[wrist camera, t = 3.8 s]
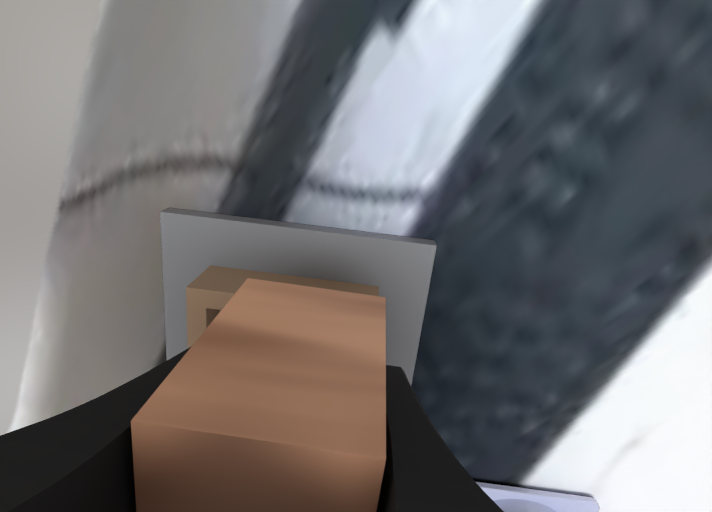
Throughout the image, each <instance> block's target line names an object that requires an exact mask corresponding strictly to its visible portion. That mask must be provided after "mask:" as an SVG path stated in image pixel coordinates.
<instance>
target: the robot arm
mask: <svg viewBox="0 0 712 512" xmlns="http://www.w3.org/2000/svg"><path fill="white" fill-rule="evenodd" d="M191 347H192V346H191ZM191 347H189V348H188V349H186V350H184V351H183V352H181V353H179V354H177V355H176V356H174V357H172V358H171V359H169V360H167V361H165V362H164V363H162V364H160V365H158V366H157V367H155V368H153V369H151V370H150V371H148V372H146V373H144V374H143V375H141V376H139V377H137V378H135V379H133V380H131V381H129V382H127V383H125V384H123V385H121V386H119V387H118V388H116V389H114V390H112V391H110V392H108V393H106V394H104V395H102V396H100V397H98V398H96V399H93V400H91V401H89V402H87V403H85V404H82V405H80V406H78V407H75V408H73V409H71V410H68V411H66V412H63V413H61V414H59V415H56V416H54V417H51V418H49V419H46V420H43V421H40V422H38V423H35V424H32V425H29V426H26V427H24V428H21V429H18V430H15V431H12V432H10V433H7V434H4V435H1V436H0V512H136V498H135V482H134V466H133V450H132V434H131V420H132V419H133V418H134V416H135V415H136V414H137V413H138V412H139V410H140V409H141V408H142V407H143V405H144V404H145V403H146V402H147V401H148V399H149V398H150V397H151V396H152V394H153V393H154V392H155V391H156V390H157V388H158V387H159V386H160V385H161V383H162V382H163V381H164V380H165V379H166V377H167V376H168V375H169V374H170V372H171V371H172V370H173V369H174V368H175V366H176V365H177V364H178V363H179V361H180V360H181V359H182V358H183V357H184V355H185V354H186V353H187V352H188V350H189V349H190V348H191ZM599 508H600V507H599V505H598V503H597V501H596V500H595V499H594V498H591V497H585V496H578V495H571V494H563V493H556V492H548V491H541V490H533V489H526V488H519V487H511V486H504V485H496V484H489V483H482V482H475V481H474V480H473V479H472V477H471V476H470V475H469V474H468V473H467V471H466V470H465V469H464V468H463V467H462V465H461V464H460V463H459V461H458V460H457V459H456V458H455V456H454V455H453V453H452V452H451V451H450V449H449V448H448V447H447V445H446V444H445V442H444V441H443V439H442V438H441V436H440V435H439V433H438V432H437V430H436V429H435V427H434V426H433V424H432V423H431V421H430V419H429V418H428V416H427V414H426V413H425V411H424V409H423V408H422V406H421V404H420V402H419V400H418V399H417V397H416V395H415V393H414V391H413V389H412V387H411V385H410V383H409V381H408V379H407V376H406V374H405V372H404V370H403V369H402V368H401V367H398V366H391V365H386V462H385V467H384V473H383V478H382V484H381V489H380V494H379V500H378V505H377V511H376V512H599Z"/></svg>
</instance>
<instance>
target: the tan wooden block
mask: <svg viewBox="0 0 712 512" xmlns="http://www.w3.org/2000/svg"><path fill="white" fill-rule="evenodd" d="M131 434H132V450H133V466H134V482H135V498H136V512H376V511H377V505H378V500H379V494H380V489H381V484H382V478H383V473H384V467H385V462H386V297H380V296H373V295H366V294H359V293H352V292H344V291H337V290H330V289H323V288H316V287H308V286H301V285H294V284H287V283H280V282H273V281H265V280H258V279H251V278H247V280H246V281H245V282H244V283H243V285H242V286H241V287H240V288H239V289H238V291H237V292H236V293H235V294H234V296H233V297H232V298H231V299H230V300H229V302H228V303H227V304H226V305H225V306H224V308H223V309H222V310H221V311H220V313H219V314H218V315H217V316H216V317H215V319H214V320H213V321H212V322H211V324H210V325H209V326H208V327H207V328H206V330H205V331H204V332H203V333H202V335H201V336H200V337H199V338H198V339H197V341H196V342H195V343H194V344H193V346H192V347H191V348H190V349H189V350H188V352H187V353H186V354H185V355H184V357H183V358H182V359H181V360H180V361H179V363H178V364H177V365H176V366H175V368H174V369H173V370H172V371H171V372H170V374H169V375H168V376H167V377H166V379H165V380H164V381H163V382H162V383H161V385H160V386H159V387H158V388H157V390H156V391H155V392H154V393H153V394H152V396H151V397H150V398H149V399H148V401H147V402H146V403H145V404H144V405H143V407H142V408H141V409H140V410H139V412H138V413H137V414H136V415H135V416H134V418H133V419H132V420H131Z"/></svg>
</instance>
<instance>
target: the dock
mask: <svg viewBox="0 0 712 512" xmlns="http://www.w3.org/2000/svg"><path fill="white" fill-rule="evenodd" d="M160 220H161V243H162V265H163V288H164V311H165V334H166V357H167V360H169V359H171V358H172V357H174V356H176V355H177V354H179V353H181V352H183V351H184V350H186V349H188V348H189V347H191V346H193V344H194V343H195V342H196V341H197V339H198V338H199V337H200V336H201V335H202V333H203V332H204V331H205V330H206V328H207V327H208V326H209V325H210V324H211V322H212V321H213V320H214V319H215V317H216V316H217V315H218V314H219V313H220V311H221V310H222V309H223V308H224V306H225V305H226V304H227V303H228V302H229V300H230V299H231V298H232V297H233V296H234V294H235V293H236V292H237V291H238V289H239V288H240V287H241V286H242V285H243V283H244V282H245V281H246V280H247V278H251V279H258V280H265V281H273V282H280V283H287V284H294V285H301V286H308V287H316V288H323V289H330V290H337V291H344V292H352V293H359V294H366V295H373V296H380V297H386V365H391V366H398V367H401V368H402V369H403V370H404V372H405V374H406V376H407V379H408V381H409V383H410V385H411V384H412V379H413V373H414V368H415V362H416V357H417V351H418V346H419V340H420V335H421V329H422V324H423V318H424V312H425V307H426V301H427V296H428V290H429V285H430V279H431V274H432V268H433V263H434V257H435V252H436V243H435V240H428V239H420V238H412V237H404V236H396V235H388V234H379V233H371V232H363V231H355V230H347V229H339V228H330V227H322V226H314V225H306V224H298V223H290V222H281V221H273V220H265V219H257V218H249V217H241V216H232V215H224V214H216V213H208V212H200V211H192V210H183V209H175V208H167V209H165V210H163V211H161V212H160Z"/></svg>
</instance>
